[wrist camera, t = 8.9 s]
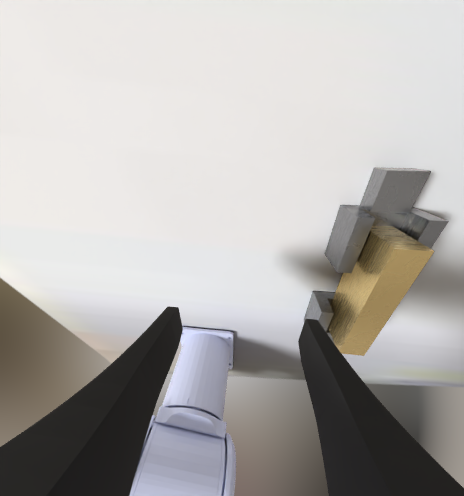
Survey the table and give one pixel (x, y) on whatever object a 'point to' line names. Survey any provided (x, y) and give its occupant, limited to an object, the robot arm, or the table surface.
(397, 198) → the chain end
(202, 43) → the table surface
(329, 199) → the table surface
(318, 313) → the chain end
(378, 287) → the tan wooden beam
